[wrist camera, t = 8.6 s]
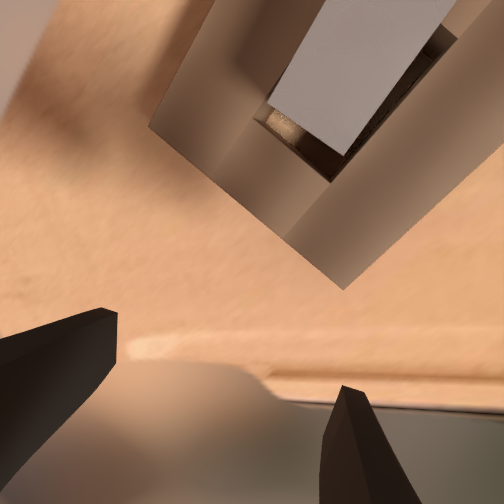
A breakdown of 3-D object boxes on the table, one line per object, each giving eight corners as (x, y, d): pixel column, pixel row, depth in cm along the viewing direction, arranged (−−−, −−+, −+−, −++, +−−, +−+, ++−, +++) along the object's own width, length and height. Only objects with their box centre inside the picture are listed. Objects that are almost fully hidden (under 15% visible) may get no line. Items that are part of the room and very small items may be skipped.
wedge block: (411, 52, 13) (468, -16, 8) (339, 153, 15) (343, 156, 10) (355, 13, 13) (372, -80, 8) (290, 119, 15) (266, 102, 10)
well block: (576, 43, 12) (643, 14, 9) (341, 269, 17) (343, 290, 14) (343, -159, 12) (346, -245, 9) (175, 130, 17) (147, 126, 14)
